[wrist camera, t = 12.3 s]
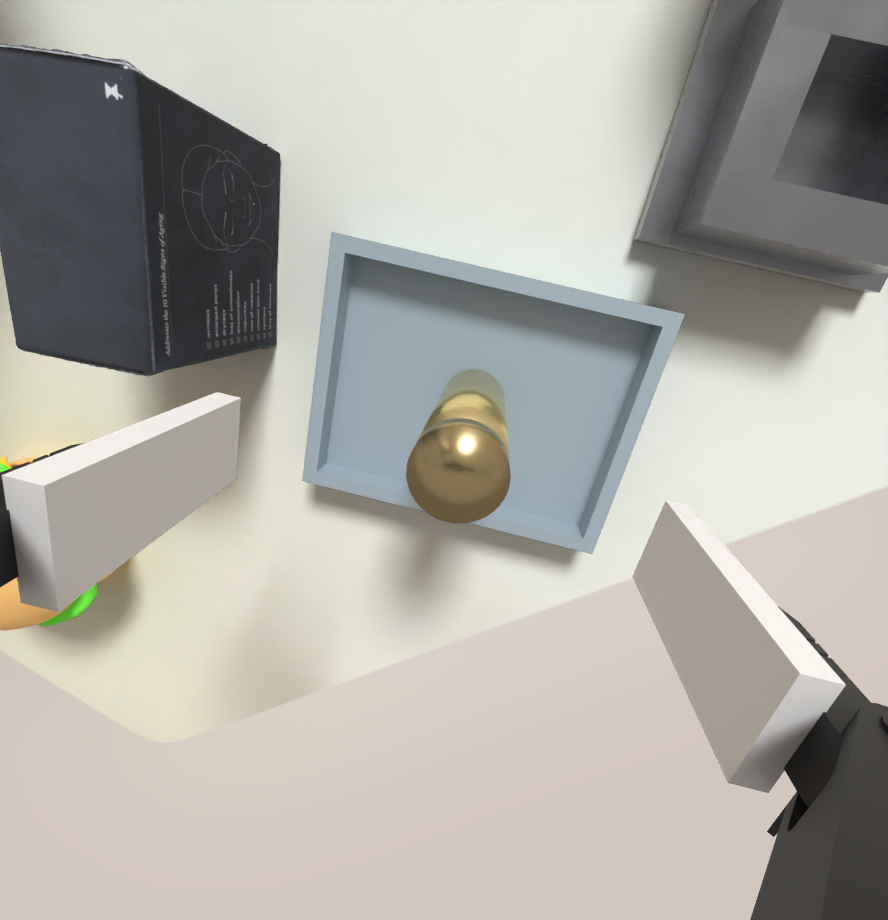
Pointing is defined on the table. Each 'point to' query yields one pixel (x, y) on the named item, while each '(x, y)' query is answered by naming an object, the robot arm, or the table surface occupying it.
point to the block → (782, 143)
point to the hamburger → (9, 613)
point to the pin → (463, 451)
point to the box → (130, 218)
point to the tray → (491, 350)
